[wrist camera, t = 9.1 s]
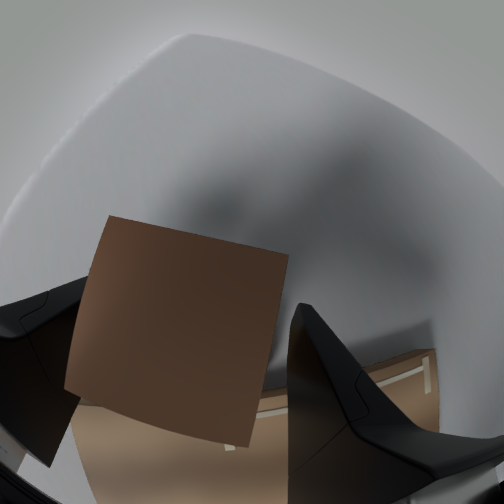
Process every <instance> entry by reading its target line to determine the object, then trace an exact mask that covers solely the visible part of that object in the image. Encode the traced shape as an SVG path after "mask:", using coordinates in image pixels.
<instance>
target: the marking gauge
mask: <svg viewBox="0 0 504 504" xmlns="http://www.w3.org/2000/svg"><path fill="white" fill-rule="evenodd" d="M288 256H289V255H286V254H282V253H277V252H273V251H268V250H264V249H260V248H255V247H251V246H246V245H242V244H237V243H233V242H228V241H224V240H219V239H215V238H210V237H206V236H201V235H197V234H192V233H188V232H183V231H179V230H174V229H170V228H165V227H160V226H156V225H151V224H147V223H142V222H138V221H133V220H128V219H124V218H119V217H115V216H110V215H109V217H108V220H107V223H106V225H105V228H104V230H103V233H102V236H101V239H100V241H99V244H98V247H97V250H96V253H95V256H94V259H93V262H92V265H91V268H90V271H89V275H88V278H87V281H86V285H85V288H84V292H83V296H82V299H81V303H80V307H79V311H78V315H77V319H76V324H75V328H74V333H73V337H72V342H71V348H70V353H69V359H68V365H67V371H66V378H65V385H64V389H65V390H67V391H69V392H71V393H73V394H75V395H77V396H79V397H81V398H83V399H86V400H88V401H90V402H92V403H94V404H97V405H99V406H101V407H103V408H106V409H108V410H111V411H113V412H116V413H118V414H121V415H123V416H126V417H129V418H131V419H134V420H137V421H140V422H143V423H146V424H149V425H152V426H155V427H158V428H161V429H165V430H168V431H171V432H175V433H179V434H182V435H186V436H190V437H194V438H198V439H203V440H207V441H212V442H217V443H222V444H227V445H233V446H239V447H245V448H249V444H250V440H251V436H252V431H253V427H254V423H255V419H256V415H257V410H258V406H259V402H260V397H261V393H262V388H263V384H264V379H265V375H266V370H267V365H268V361H269V356H270V351H271V346H272V341H273V336H274V331H275V326H276V321H277V316H278V311H279V306H280V300H281V295H282V290H283V284H284V279H285V273H286V267H287V262H288Z"/></svg>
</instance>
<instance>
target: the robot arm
mask: <svg viewBox="0 0 504 504" xmlns="http://www.w3.org/2000/svg"><path fill="white" fill-rule="evenodd" d="M87 278H88V276H86V277H83V278H80V279H77V280H75V281H72V282H69V283H67V284H64V285H61V286H59V287H56V288H53V289H51V290H49V291H45V292H43V293H40V294H38V295H35V296H32V297H29V298H26V299H23V300H20V301H17V302H14V303H11V304H7V305H4V306H1V307H0V504H62V503H60V502H58V501H56V500H55V499H53V498H52V497H50V496H48V495H47V494H45V493H44V492H42V491H40V490H39V489H37V488H36V487H34V486H33V485H32V484H30V483H29V482H27V481H26V480H25V479H23V478H22V477H20V476H19V475H18V474H16V473H17V471H18V469H19V467H20V465H21V463H22V461H23V459H24V457H25V455H26V453H27V454H29V455H30V456H32V457H33V458H35V459H36V460H38V461H39V462H41V463H42V464H44V465H45V466H47V467H49V468H50V466H51V464H52V462H53V460H54V457H55V455H56V452H57V450H58V448H59V445H60V443H61V441H62V438H63V436H64V434H65V432H66V430H67V427H68V425H69V423H70V421H71V418H72V416H73V414H74V412H75V410H76V408H77V406H78V404H79V402H80V400H81V397H79V396H77V395H75V394H73V393H71V392H69V391H67V390H65V389H64V385H65V378H66V371H67V365H68V359H69V353H70V348H71V342H72V337H73V333H74V328H75V324H76V319H77V315H78V311H79V307H80V303H81V299H82V296H83V292H84V288H85V285H86V281H87ZM287 399H288V477H289V478H288V504H504V481H502V482H501V483H499V482H498V478H497V474H496V471H495V467H496V466H497V465H499V464H500V463H501V462H503V461H504V435H500V436H498V437H495V438H490V439H478V438H469V437H462V436H455V435H449V434H443V433H438V432H433V431H428V430H425V429H423V428H421V427H419V426H417V425H416V424H415V423H414V422H412V421H411V420H410V419H409V418H408V417H407V416H406V415H405V414H404V413H403V412H402V411H401V410H400V409H399V408H398V407H397V406H396V405H395V404H394V403H393V402H392V400H391V399H390V398H389V397H388V396H387V395H386V394H385V393H384V392H383V391H382V390H381V389H380V388H379V387H378V386H377V384H376V383H375V382H374V381H373V380H372V379H371V377H370V376H369V375H368V374H367V373H366V371H365V370H364V369H362V367H361V365H360V364H359V363H358V362H357V360H356V359H355V358H354V357H353V356H352V354H351V353H350V352H349V351H348V349H347V348H346V347H345V346H344V345H343V343H342V342H341V341H340V340H339V338H338V337H337V336H336V335H335V334H334V332H333V331H332V330H331V329H330V328H329V326H328V325H327V324H326V323H325V321H324V320H323V319H322V318H321V317H320V315H319V314H318V313H317V312H316V311H315V309H314V308H313V307H312V306H311V305H309V304H304V303H299V304H298V305H297V308H296V311H295V313H294V316H293V318H292V321H291V325H290V335H289V345H288V355H287Z"/></svg>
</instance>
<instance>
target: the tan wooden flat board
mask: <svg viewBox="0 0 504 504" xmlns="http://www.w3.org/2000/svg"><path fill="white" fill-rule="evenodd" d="M362 369H364V370H365V371H366V373H367V374H368V375H369V376H370V377H371V379H372V380H373V381H374V382H375V383H376V384H377V386H378V387H379V388H380V389H381V390H382V391H383V392H384V393H385V394H386V395H387V396H388V397H389V398H390V399H391V400H392V402H393V403H394V404H395V405H396V406H397V407H398V408H399V409H400V410H401V411H402V412H403V413H404V414H405V415H406V416H407V417H408V418H409V419H410V420H411V421H412V422H414V423H415V424H416V425H417V426H419V427H421V428H423V429H425V430H428V431H433V432H438V433H439V391H438V374H437V362H436V353H435V349H417V350H414V351H412V352H409V353H406V354H404V355H401V356H398V357H395V358H392V359H389V360H386V361H383V362H380V363H377V364H374V365H371V366H368V367H364V368H362ZM70 423H71V427H72V431H73V435H74V439H75V442H76V446H77V449H78V453H79V456H80V459H81V462H82V465H83V468H84V471H85V474H86V477H87V479H88V482H89V485H90V487H91V490H92V492H93V495H94V497H95V500H96V502H97V504H288V478H289V477H288V399H287V387H282V388H277V389H271V390H265V391H262V393H261V397H260V402H259V406H258V410H257V415H256V419H255V423H254V427H253V431H252V436H251V440H250V444H249V448H245V447H239V446H233V445H227V444H222V443H217V442H212V441H207V440H203V439H198V438H194V437H190V436H186V435H182V434H179V433H175V432H171V431H168V430H165V429H161V428H158V427H155V426H152V425H149V424H146V423H143V422H140V421H137V420H134V419H131V418H129V417H126V416H123V415H121V414H118V413H116V412H113V411H111V410H108V409H106V408H103V407H101V406H99V405H97V404H94V403H92V402H90V401H88V400H86V399H83V398H82V399H81V400H80V402H79V404H78V406H77V408H76V410H75V412H74V414H73V416H72V418H71V421H70Z"/></svg>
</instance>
